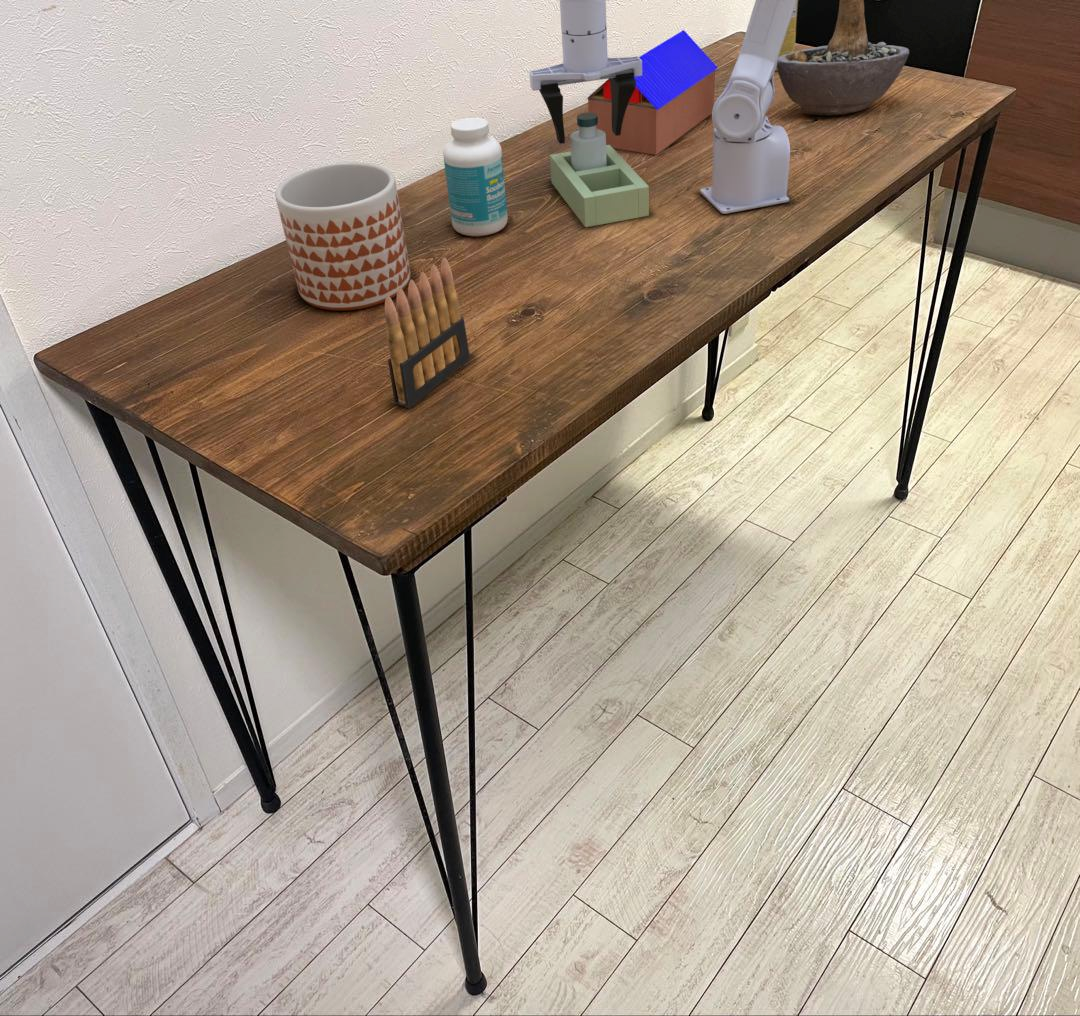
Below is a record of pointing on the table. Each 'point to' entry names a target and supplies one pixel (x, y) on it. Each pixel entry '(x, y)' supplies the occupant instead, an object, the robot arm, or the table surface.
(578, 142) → the bottle
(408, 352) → the ammunition clip
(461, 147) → the pill bottle
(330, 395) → the table surface
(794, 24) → the candy box
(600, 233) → the table surface
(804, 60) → the planter
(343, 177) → the patterned ceramic pot
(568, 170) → the tray
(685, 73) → the house
